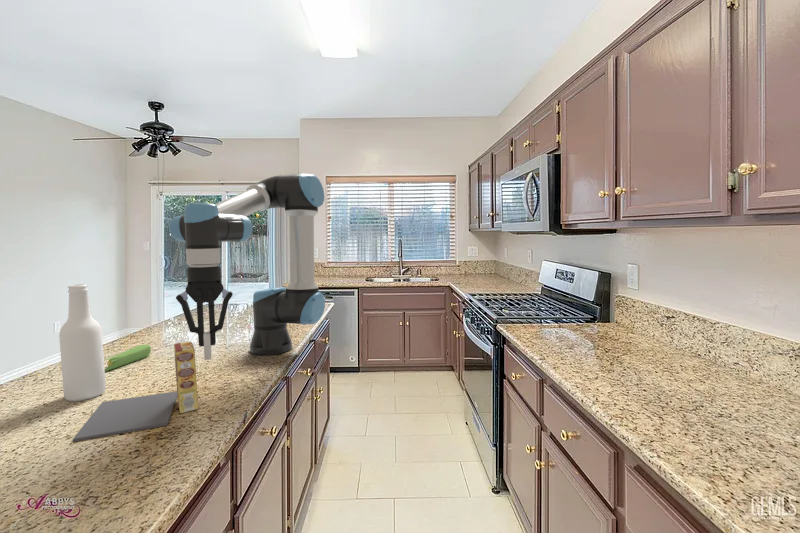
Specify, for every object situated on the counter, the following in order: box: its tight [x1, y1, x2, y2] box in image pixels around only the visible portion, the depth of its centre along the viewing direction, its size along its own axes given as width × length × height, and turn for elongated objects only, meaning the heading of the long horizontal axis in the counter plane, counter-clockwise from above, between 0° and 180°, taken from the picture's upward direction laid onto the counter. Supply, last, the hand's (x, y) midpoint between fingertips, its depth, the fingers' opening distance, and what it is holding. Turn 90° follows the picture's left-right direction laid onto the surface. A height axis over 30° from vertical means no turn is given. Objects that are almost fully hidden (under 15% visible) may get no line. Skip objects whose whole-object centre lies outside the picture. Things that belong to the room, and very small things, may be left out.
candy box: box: [173, 341, 199, 414], centre depth 97 cm, size 9×4×15 cm, turn 33°
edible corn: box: [104, 344, 152, 373], centre depth 131 cm, size 5×20×5 cm
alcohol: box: [58, 283, 107, 402], centre depth 103 cm, size 9×9×30 cm
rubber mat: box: [72, 390, 178, 442], centre depth 93 cm, size 17×20×1 cm
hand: (208, 358), depth 99 cm, fingers closed
